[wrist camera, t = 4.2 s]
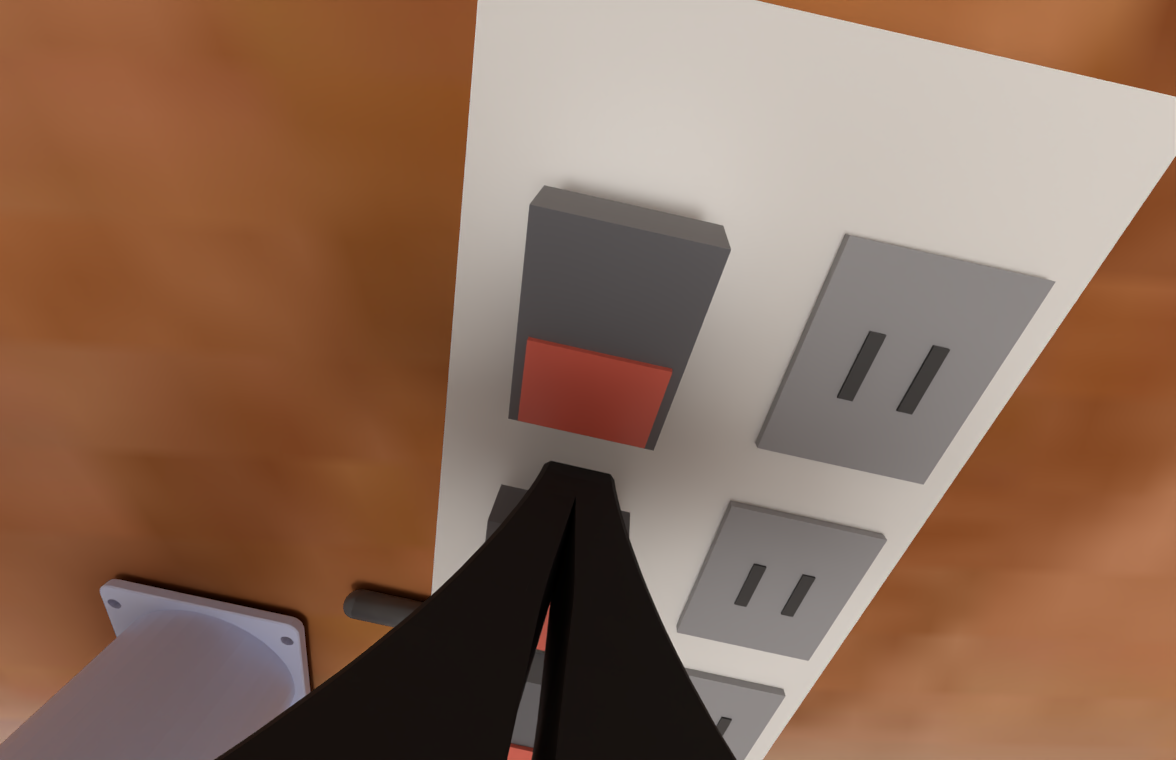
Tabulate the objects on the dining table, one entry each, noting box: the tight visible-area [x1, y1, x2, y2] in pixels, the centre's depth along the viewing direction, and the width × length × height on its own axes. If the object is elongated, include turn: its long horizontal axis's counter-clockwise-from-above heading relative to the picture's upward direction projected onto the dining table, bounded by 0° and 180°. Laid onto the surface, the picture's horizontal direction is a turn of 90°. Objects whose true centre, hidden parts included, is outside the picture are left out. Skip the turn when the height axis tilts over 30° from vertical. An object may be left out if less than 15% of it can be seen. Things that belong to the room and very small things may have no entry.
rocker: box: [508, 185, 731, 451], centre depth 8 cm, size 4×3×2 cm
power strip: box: [343, 0, 1176, 760], centre depth 13 cm, size 22×15×4 cm
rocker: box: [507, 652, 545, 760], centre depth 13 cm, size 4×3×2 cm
